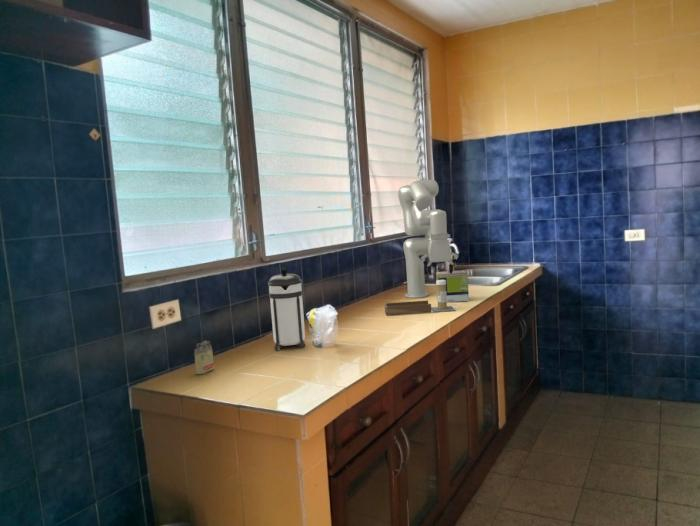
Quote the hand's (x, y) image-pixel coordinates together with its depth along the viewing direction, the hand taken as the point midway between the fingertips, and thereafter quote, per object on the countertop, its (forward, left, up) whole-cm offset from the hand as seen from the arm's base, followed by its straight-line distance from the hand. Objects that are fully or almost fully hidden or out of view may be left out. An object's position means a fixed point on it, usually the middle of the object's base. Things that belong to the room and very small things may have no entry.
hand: (440, 273), depth 257 cm
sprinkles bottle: (0, 0, -17) cm, 17 cm away
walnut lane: (+1, -16, -17) cm, 23 cm away
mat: (+1, 0, -17) cm, 17 cm away
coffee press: (+49, -67, -17) cm, 84 cm away
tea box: (-21, +9, -17) cm, 29 cm away
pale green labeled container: (+77, -92, -17) cm, 121 cm away
